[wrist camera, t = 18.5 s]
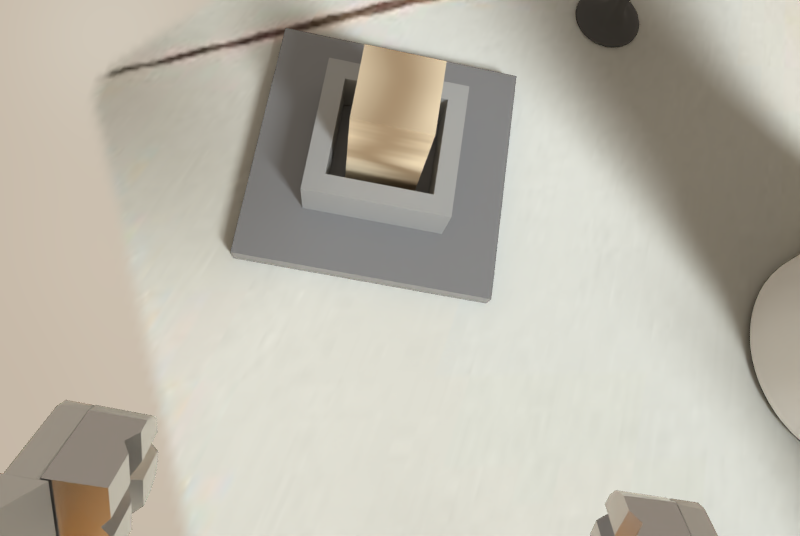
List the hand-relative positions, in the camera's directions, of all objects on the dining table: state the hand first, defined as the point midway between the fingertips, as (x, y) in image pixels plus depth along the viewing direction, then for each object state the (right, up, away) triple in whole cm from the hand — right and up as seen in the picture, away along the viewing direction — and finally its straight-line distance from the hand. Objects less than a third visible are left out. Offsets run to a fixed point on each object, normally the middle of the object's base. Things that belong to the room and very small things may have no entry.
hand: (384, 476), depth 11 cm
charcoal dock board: (-1, +10, +29) cm, 31 cm away
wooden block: (-1, +11, +28) cm, 30 cm away
